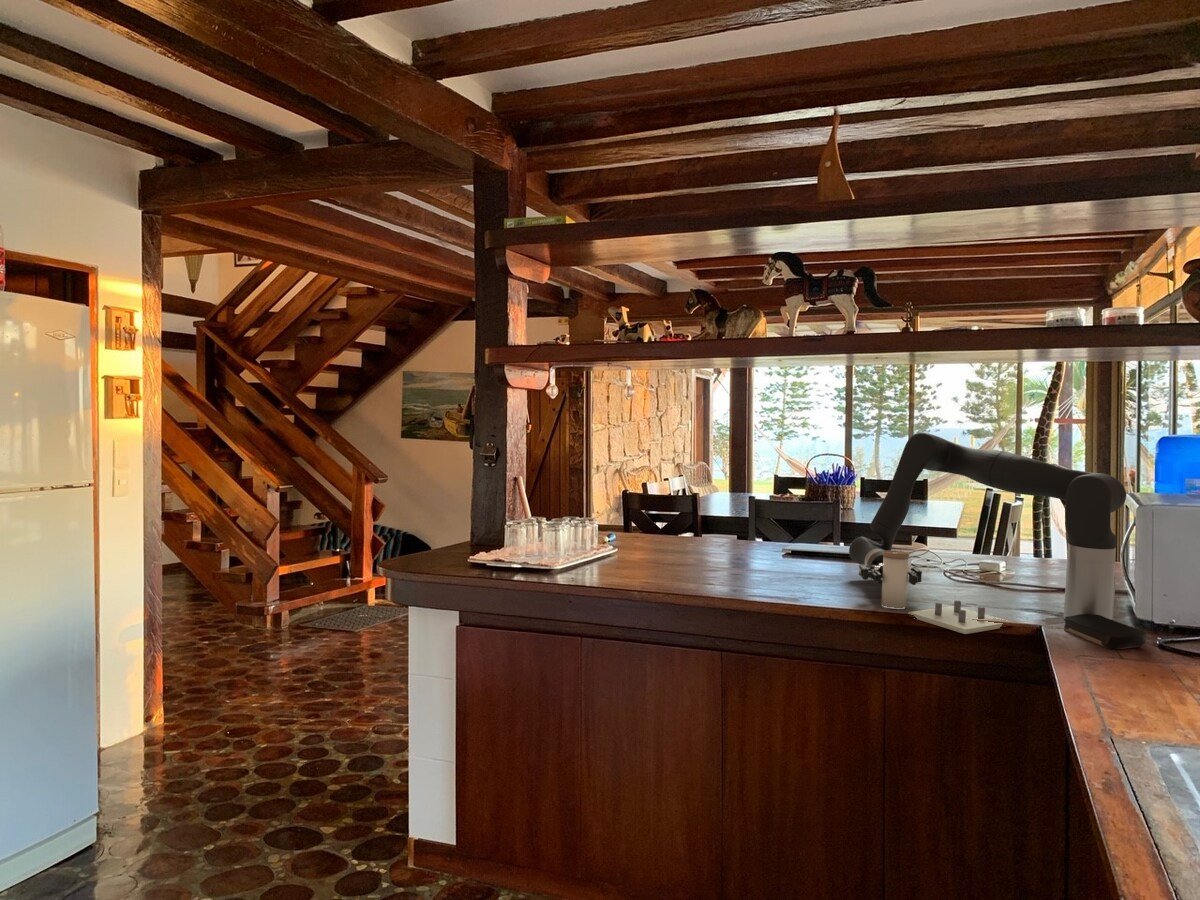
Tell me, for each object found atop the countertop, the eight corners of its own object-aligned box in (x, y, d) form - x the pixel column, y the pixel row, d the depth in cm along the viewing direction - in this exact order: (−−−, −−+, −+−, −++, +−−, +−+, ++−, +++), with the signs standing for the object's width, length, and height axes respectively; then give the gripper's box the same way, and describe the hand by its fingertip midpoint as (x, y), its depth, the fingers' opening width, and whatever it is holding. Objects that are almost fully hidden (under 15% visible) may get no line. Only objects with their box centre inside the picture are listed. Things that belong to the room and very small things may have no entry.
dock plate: (953, 609, 193) (954, 595, 193) (1011, 626, 180) (1012, 610, 180) (908, 616, 186) (908, 601, 186) (965, 634, 173) (965, 617, 173)
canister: (892, 603, 198) (895, 549, 197) (912, 608, 193) (914, 553, 192) (875, 605, 196) (877, 551, 195) (894, 611, 190) (896, 555, 190)
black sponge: (1151, 652, 164) (1152, 634, 164) (1111, 652, 163) (1112, 634, 163) (1094, 629, 180) (1094, 612, 180) (1057, 629, 179) (1058, 613, 179)
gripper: (853, 549, 209) (865, 562, 192) (912, 552, 207) (929, 565, 191) (852, 578, 209) (864, 594, 193) (910, 581, 207) (928, 597, 191)
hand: (896, 579), depth 192 cm, fingers open, 7 cm apart
